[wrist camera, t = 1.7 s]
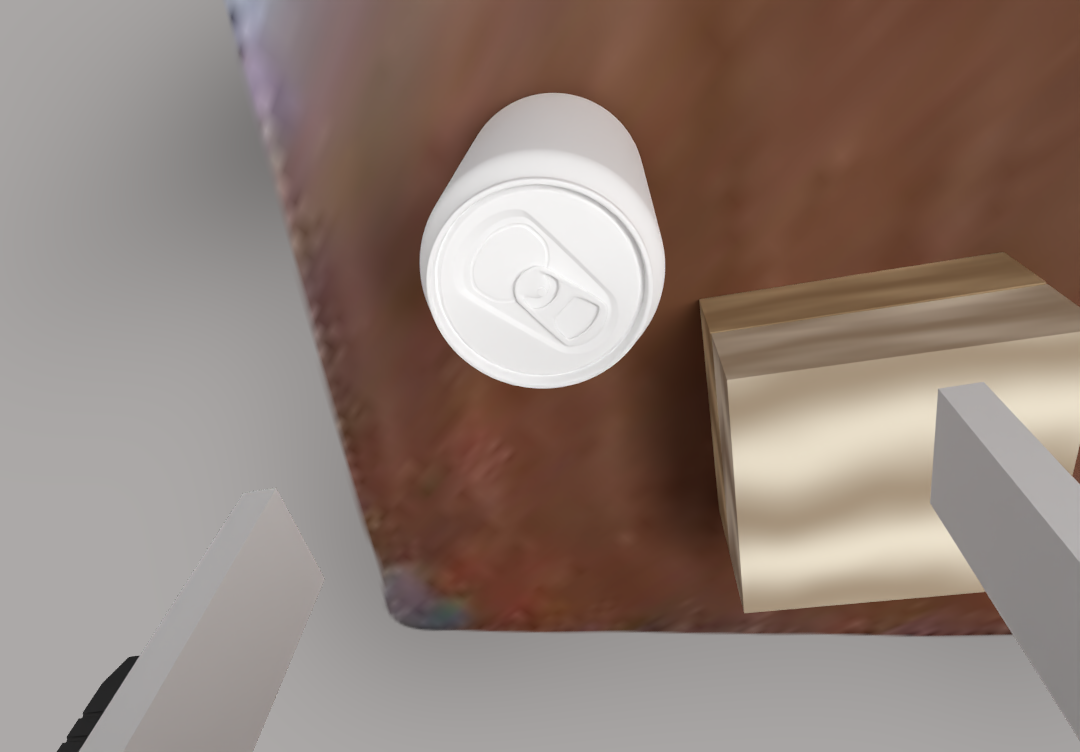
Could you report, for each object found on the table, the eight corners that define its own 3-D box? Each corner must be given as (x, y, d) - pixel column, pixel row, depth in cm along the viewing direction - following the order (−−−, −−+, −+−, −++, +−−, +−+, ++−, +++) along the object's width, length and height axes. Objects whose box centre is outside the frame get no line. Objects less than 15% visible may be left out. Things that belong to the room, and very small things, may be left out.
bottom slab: (697, 295, 35) (710, 332, 32) (998, 248, 33) (1045, 282, 30) (717, 505, 42) (729, 554, 39) (966, 477, 40) (1002, 525, 37)
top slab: (711, 333, 32) (727, 379, 28) (1047, 284, 30) (1108, 327, 26) (730, 554, 39) (744, 613, 35) (1002, 527, 37) (1045, 586, 33)
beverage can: (539, 47, 29) (513, 99, 19) (680, 170, 31) (725, 276, 21) (432, 196, 33) (362, 308, 22) (566, 297, 35) (558, 440, 25)
